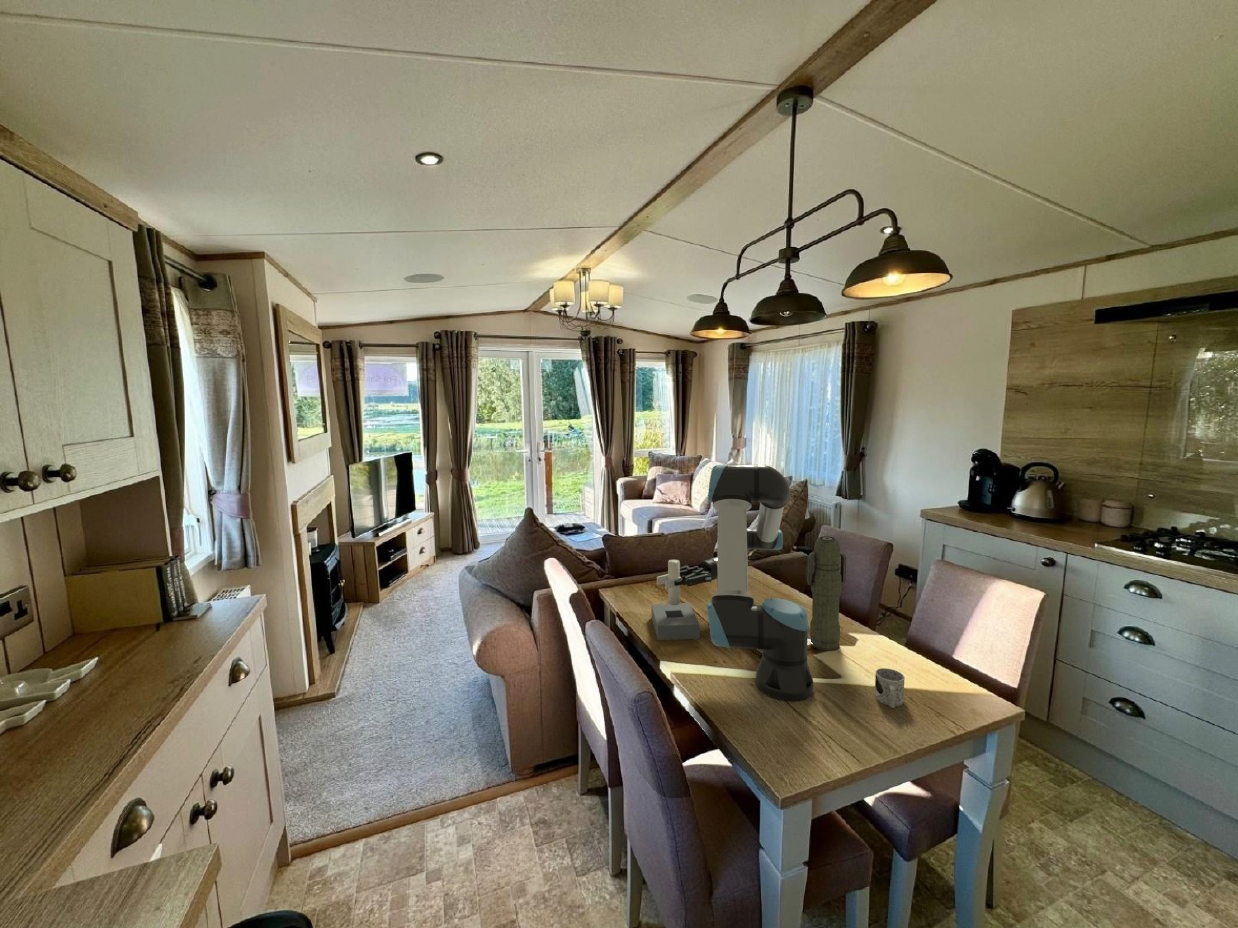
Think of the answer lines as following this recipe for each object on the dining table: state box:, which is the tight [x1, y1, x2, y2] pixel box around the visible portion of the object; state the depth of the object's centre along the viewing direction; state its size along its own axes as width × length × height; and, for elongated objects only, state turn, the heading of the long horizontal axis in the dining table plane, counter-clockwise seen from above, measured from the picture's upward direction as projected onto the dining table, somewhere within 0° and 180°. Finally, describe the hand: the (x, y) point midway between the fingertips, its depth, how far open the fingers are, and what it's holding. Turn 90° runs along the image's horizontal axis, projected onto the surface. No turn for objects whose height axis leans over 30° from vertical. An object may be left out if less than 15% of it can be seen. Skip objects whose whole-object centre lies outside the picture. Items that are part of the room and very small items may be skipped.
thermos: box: [806, 535, 847, 652], centre depth 159 cm, size 9×12×35 cm
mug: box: [874, 667, 905, 709], centre depth 129 cm, size 10×7×7 cm
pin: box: [667, 559, 681, 605], centre depth 173 cm, size 4×4×15 cm
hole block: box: [650, 602, 701, 641], centre depth 175 cm, size 18×14×5 cm
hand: (661, 582), depth 170 cm, fingers closed on pin, 4 cm apart
